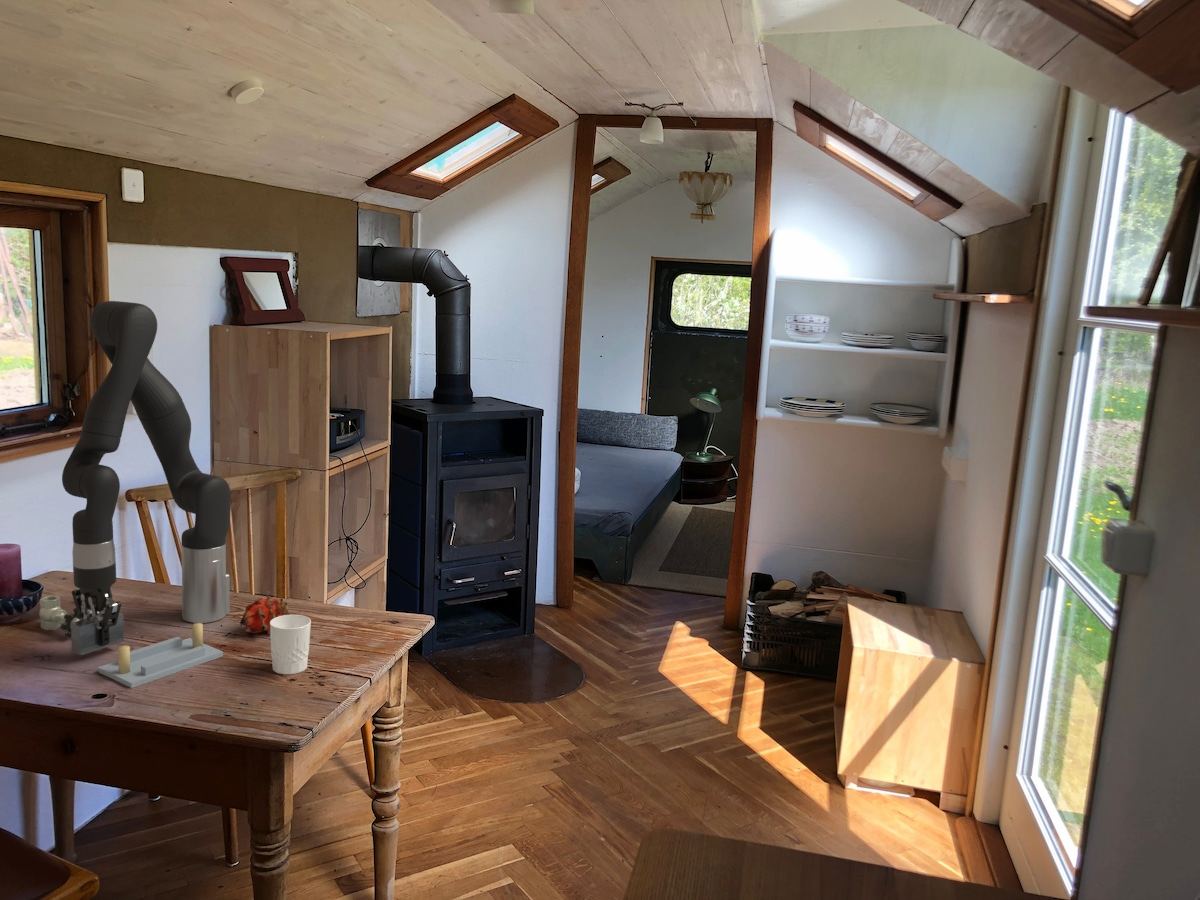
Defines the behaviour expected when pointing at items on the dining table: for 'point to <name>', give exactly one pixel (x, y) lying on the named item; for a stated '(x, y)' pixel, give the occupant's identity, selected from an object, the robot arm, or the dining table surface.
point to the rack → (160, 659)
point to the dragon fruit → (263, 614)
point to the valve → (55, 615)
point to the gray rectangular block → (93, 635)
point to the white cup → (290, 643)
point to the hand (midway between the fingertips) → (98, 642)
